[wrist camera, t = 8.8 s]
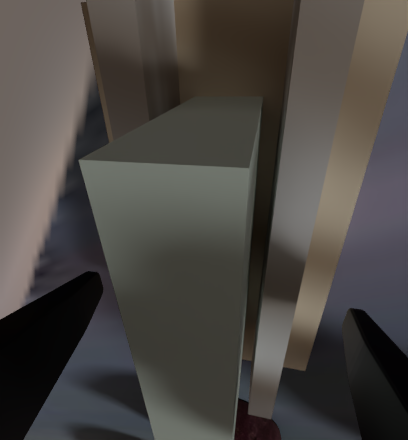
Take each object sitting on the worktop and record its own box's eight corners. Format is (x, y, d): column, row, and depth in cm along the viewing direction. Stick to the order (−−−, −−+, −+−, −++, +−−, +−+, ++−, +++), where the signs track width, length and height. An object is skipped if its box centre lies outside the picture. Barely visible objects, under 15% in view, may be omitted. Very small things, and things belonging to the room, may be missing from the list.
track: (303, 355, 17) (311, 428, 14) (154, 329, 19) (130, 387, 16) (407, -14, 8) (507, -65, 5) (97, 6, 10) (6, -18, 6)
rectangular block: (245, 326, 15) (228, 492, 10) (204, 319, 16) (164, 474, 10) (263, 96, 9) (249, 168, 3) (195, 96, 10) (78, 160, 4)
